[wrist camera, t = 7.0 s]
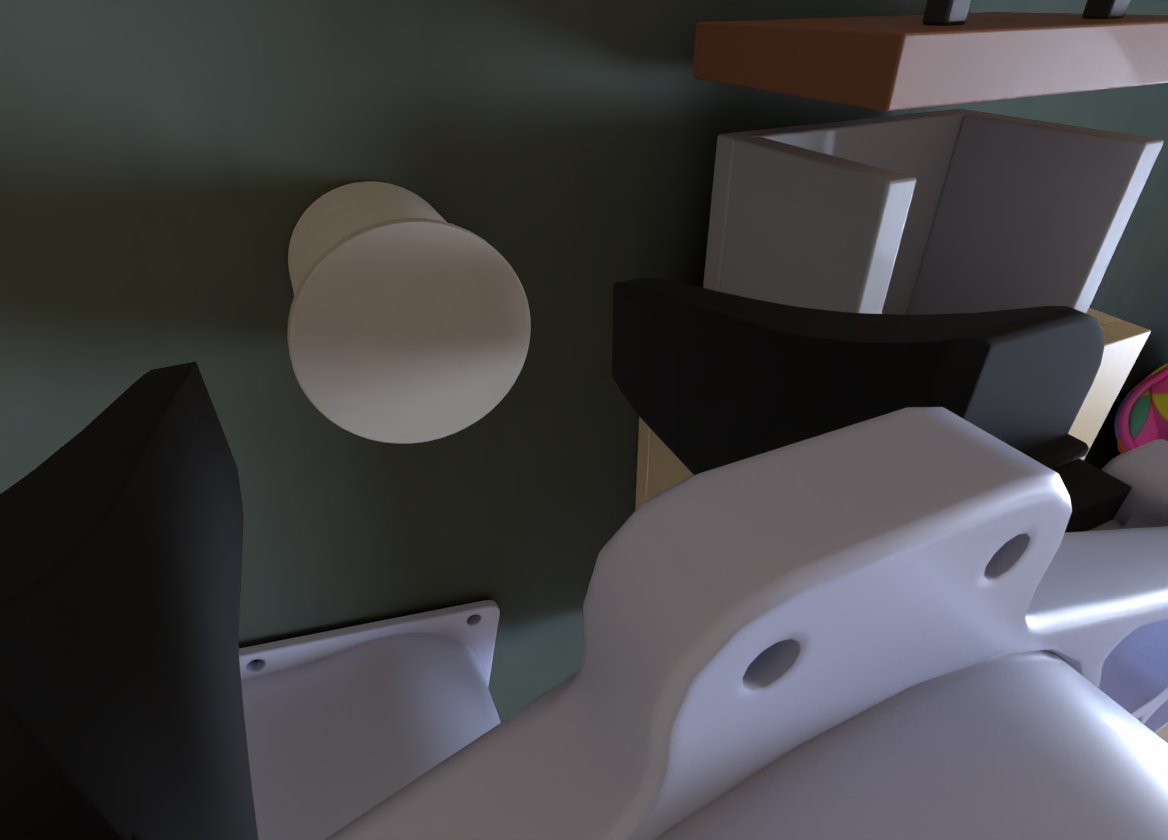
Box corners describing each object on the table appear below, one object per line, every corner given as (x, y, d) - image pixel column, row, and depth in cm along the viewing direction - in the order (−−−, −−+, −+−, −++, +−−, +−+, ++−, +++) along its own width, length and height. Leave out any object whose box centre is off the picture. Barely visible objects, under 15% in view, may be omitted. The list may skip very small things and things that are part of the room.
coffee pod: (277, 350, 16) (293, 453, 12) (268, 155, 14) (283, 211, 10) (458, 347, 18) (516, 435, 15) (474, 177, 16) (546, 231, 12)
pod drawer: (715, -269, 13) (1008, -429, 8) (1058, -217, 16) (1402, -305, 12) (665, 444, 22) (784, 566, 18) (888, 379, 26) (1037, 465, 21)
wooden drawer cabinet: (643, 299, 20) (827, 433, 14) (916, 244, 24) (1152, 330, 18) (630, 598, 28) (746, 770, 21) (839, 518, 32) (988, 644, 25)
